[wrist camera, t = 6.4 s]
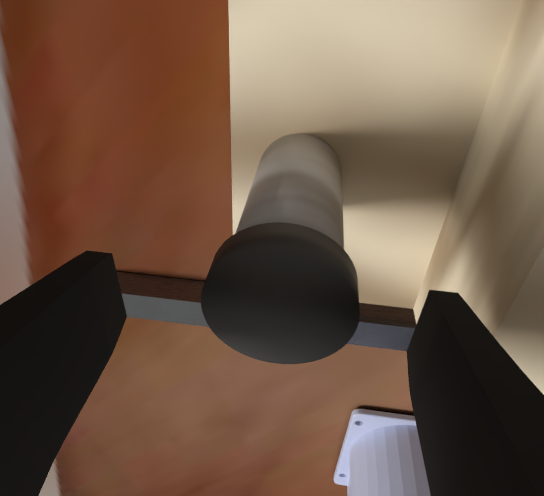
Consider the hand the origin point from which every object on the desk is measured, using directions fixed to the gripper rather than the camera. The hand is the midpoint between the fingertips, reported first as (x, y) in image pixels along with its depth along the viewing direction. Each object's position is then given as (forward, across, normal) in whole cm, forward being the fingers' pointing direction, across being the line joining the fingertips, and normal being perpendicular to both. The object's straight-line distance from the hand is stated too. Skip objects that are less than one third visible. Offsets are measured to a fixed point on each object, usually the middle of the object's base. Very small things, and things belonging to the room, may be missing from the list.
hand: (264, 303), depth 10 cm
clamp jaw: (+8, -4, 0) cm, 9 cm away
